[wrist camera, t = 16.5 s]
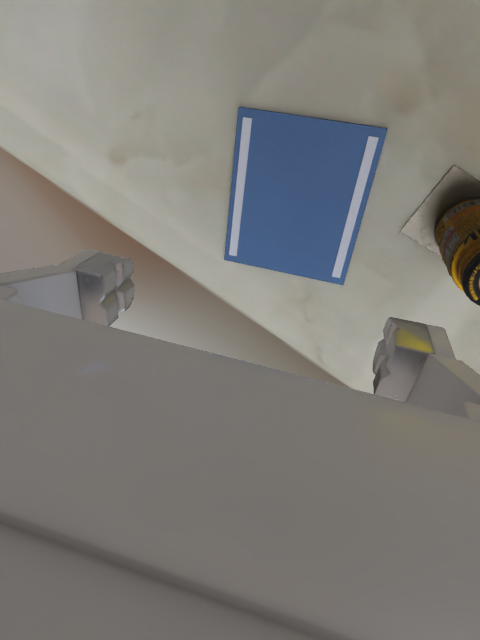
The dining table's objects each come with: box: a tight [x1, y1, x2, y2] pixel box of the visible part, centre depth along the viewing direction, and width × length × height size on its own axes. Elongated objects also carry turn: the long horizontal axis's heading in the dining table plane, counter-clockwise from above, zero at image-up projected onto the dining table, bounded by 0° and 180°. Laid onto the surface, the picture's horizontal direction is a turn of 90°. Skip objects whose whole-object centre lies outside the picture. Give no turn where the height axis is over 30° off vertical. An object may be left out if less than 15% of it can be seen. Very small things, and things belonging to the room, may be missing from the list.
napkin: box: [224, 107, 387, 285], centre depth 41 cm, size 16×14×1 cm
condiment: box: [400, 166, 480, 306], centre depth 33 cm, size 7×8×12 cm
